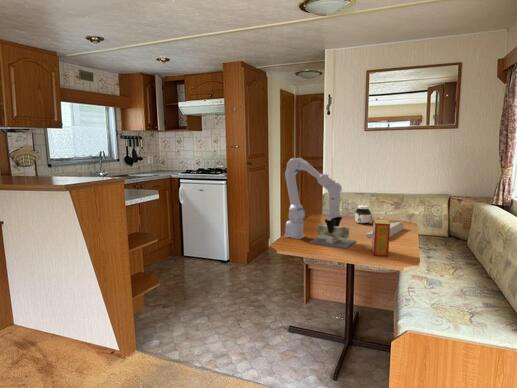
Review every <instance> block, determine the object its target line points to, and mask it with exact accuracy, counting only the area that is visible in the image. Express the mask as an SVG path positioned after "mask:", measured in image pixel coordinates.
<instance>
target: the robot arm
mask: <svg viewBox="0 0 517 388" xmlns="http://www.w3.org/2000/svg"><path fill="white" fill-rule="evenodd" d="M300 171H306V172H307V173H308V174H310V175H311V176H313V177H314V178H315V179H316V180H317V183H318V184H319V185H320V186H322V187H323V188H324V189H325V190H327V193H328V211H327V212H328V213H327V215H326V218H325V219H324V222H325V225H327V228H328V232H329V233H333V230H334V226H338V227H340V224H341V222H342V219H343V215H342V214H341V211H340V210H341V208H340V206H341V192H342V190H343V188H342V185H341V184H340V182H336V180H333V179H331V178H330V177H329V175H328V174H325V173H320V171H318V170H317V169H316V168H314V166H312V165H311V164H310V163H309V162H308V161H307V160H306V159H304V158H302V157H297V158H295V157H293V158H290V159H289V160H288V161H287V163H286V169H285V173H284V176H285V181H286V182H285V183H286V186H287V193H288V199H289V203H290V204H289V205H290V206H289V208H288V211H289V212H288V219H289V220H287V221H286V223H285V233H284V234H285V235H284V237H285V238H289V237H290V239H297V240H302V239H303V238H305V237H306V236H307V235H306V234H305V235H304V219H305V216H306V211H305V209H304V208H303V205H302V204H301V201H300V195H299V191H298V185H297V180H296V175H297V174H298V172H300Z"/></svg>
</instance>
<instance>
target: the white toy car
mask: <svg viewBox="0 0 517 388" xmlns="http://www.w3.org/2000/svg"><path fill="white" fill-rule="evenodd" d="M374 219H376V218H375V216H374V213H372V212H371V210H370V206H369V205H365V204H364V205H361V204H360V205H358V206H357V209H355V213H354V220H355V223H356V224H358V225H361V226H362V225H363V226H365V225H366V226H367V225H369V224H370V223H372V224H373V220H374Z"/></svg>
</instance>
